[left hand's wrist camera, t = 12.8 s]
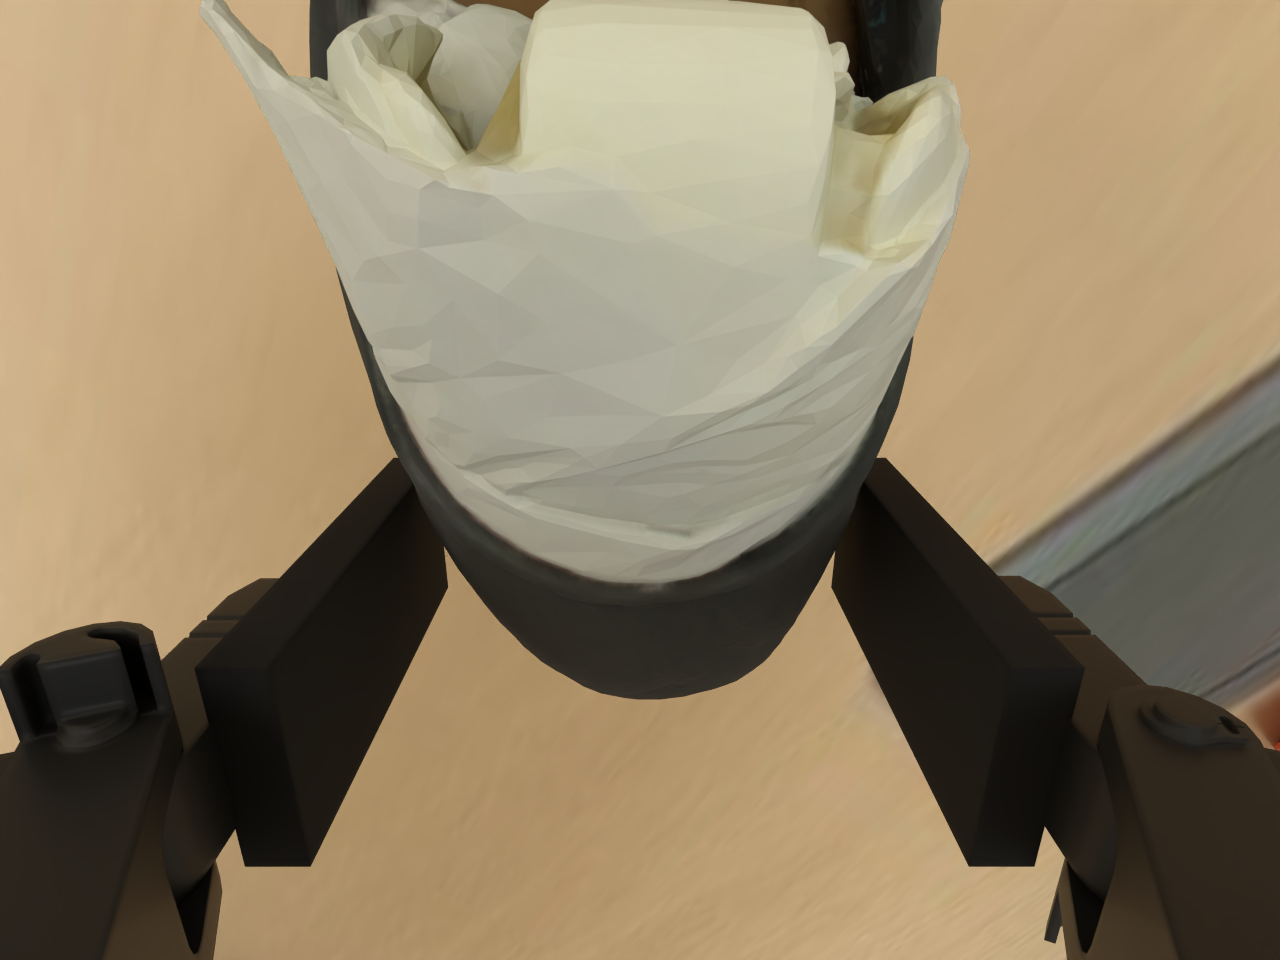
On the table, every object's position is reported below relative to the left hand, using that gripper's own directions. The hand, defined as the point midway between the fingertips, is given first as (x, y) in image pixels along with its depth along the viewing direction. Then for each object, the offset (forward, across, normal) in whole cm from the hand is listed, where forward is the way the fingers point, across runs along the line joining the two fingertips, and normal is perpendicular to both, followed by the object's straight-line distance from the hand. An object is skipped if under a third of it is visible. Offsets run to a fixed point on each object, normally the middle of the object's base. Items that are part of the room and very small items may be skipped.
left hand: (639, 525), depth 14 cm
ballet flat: (+1, 0, -9) cm, 9 cm away
